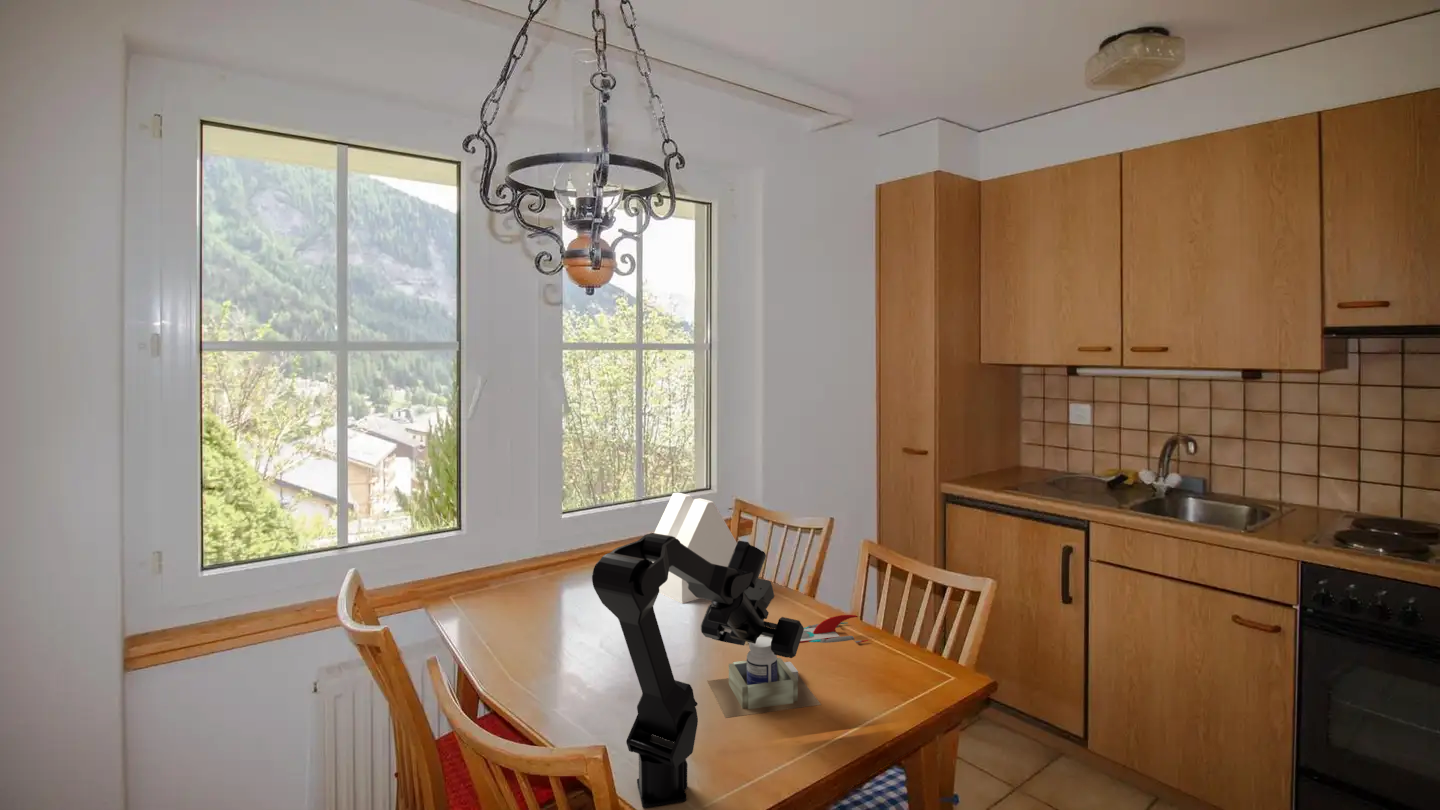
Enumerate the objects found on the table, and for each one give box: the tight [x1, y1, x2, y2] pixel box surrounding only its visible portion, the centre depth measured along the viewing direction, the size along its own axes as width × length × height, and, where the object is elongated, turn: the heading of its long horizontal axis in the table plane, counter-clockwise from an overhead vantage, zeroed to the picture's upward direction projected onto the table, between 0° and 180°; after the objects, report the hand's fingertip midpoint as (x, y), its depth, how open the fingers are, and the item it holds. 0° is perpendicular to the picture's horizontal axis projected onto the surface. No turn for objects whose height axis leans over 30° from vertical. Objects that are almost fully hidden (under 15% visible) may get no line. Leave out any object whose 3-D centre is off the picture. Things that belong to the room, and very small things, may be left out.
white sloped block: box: [653, 492, 738, 604], centre depth 192 cm, size 19×15×25 cm
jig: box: [706, 657, 822, 719], centre depth 133 cm, size 18×14×5 cm
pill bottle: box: [746, 637, 778, 685], centre depth 132 cm, size 6×6×10 cm
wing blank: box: [783, 661, 799, 680], centre depth 139 cm, size 3×4×2 cm
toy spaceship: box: [747, 614, 869, 644], centre depth 157 cm, size 27×11×5 cm, turn 109°
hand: (765, 648), depth 133 cm, fingers open, 9 cm apart
